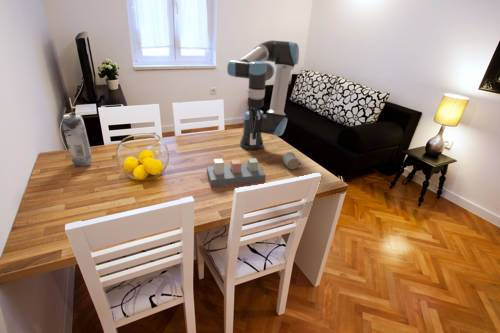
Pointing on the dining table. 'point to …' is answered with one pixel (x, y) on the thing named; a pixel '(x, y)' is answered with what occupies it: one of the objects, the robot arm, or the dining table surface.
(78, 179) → the dining table surface
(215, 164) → the key cream
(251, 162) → the key sage
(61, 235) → the dining table surface
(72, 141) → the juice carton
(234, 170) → the key terracotta
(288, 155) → the ceramic mug
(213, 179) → the console
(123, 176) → the dining table surface
